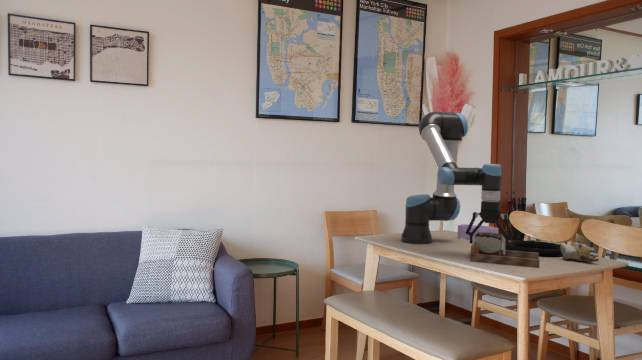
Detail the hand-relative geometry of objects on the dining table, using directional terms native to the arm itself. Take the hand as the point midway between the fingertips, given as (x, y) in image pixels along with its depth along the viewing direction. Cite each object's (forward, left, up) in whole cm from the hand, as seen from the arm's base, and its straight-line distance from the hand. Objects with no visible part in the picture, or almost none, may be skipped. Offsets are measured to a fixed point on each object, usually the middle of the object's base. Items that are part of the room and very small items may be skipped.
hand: (488, 252), depth 218 cm
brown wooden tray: (+7, 0, -3) cm, 7 cm away
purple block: (-10, +56, -3) cm, 57 cm away
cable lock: (+20, +31, -3) cm, 37 cm away
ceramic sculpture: (+35, +16, -3) cm, 39 cm away
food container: (+1, 0, -2) cm, 2 cm away
